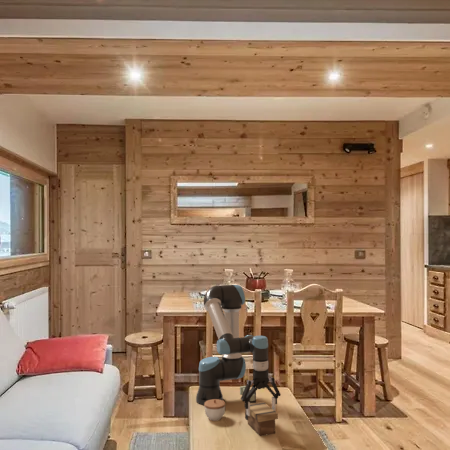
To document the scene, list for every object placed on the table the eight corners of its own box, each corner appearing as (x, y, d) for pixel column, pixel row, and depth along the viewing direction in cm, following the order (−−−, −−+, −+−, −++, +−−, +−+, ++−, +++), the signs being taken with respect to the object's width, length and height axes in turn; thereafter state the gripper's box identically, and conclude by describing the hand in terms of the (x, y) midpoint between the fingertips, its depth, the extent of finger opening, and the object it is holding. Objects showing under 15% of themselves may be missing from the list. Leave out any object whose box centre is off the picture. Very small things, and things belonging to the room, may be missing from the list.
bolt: (240, 394, 231) (239, 386, 232) (246, 393, 233) (246, 385, 233) (249, 402, 220) (249, 394, 220) (256, 401, 221) (256, 393, 222)
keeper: (245, 418, 223) (245, 390, 224) (254, 416, 225) (254, 388, 225) (246, 420, 221) (246, 391, 222) (256, 418, 223) (255, 390, 223)
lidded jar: (222, 423, 217) (222, 404, 218) (202, 421, 220) (202, 403, 220) (227, 414, 228) (227, 396, 228) (207, 413, 230) (207, 395, 230)
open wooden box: (247, 424, 217) (247, 409, 217) (262, 421, 219) (262, 407, 220) (259, 436, 203) (259, 420, 204) (275, 433, 206) (274, 418, 206)
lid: (245, 411, 217) (245, 404, 217) (263, 408, 221) (263, 401, 221) (258, 424, 202) (258, 416, 202) (277, 421, 206) (277, 413, 206)
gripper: (239, 374, 204) (240, 420, 204) (287, 368, 213) (287, 412, 212) (233, 369, 211) (234, 414, 211) (279, 363, 220) (280, 406, 219)
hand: (261, 413), depth 211 cm, fingers open, 13 cm apart
